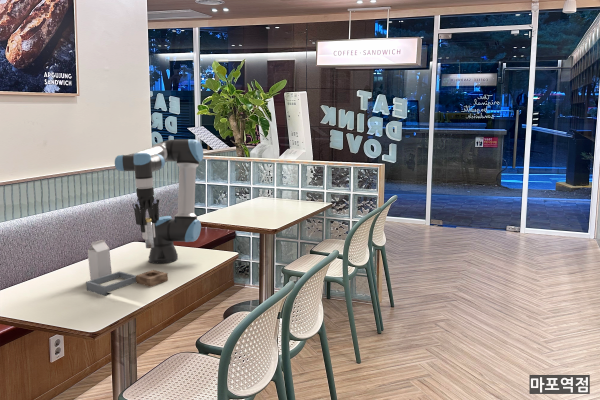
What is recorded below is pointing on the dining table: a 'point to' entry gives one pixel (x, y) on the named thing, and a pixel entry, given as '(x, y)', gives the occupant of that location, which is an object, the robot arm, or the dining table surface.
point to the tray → (103, 290)
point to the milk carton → (99, 260)
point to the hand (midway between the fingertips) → (149, 237)
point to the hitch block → (151, 278)
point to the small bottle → (149, 233)
